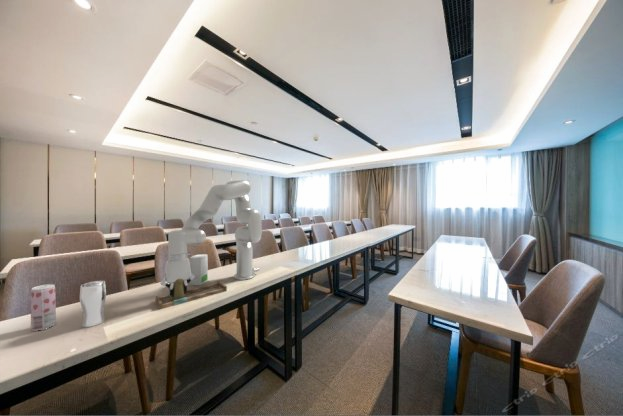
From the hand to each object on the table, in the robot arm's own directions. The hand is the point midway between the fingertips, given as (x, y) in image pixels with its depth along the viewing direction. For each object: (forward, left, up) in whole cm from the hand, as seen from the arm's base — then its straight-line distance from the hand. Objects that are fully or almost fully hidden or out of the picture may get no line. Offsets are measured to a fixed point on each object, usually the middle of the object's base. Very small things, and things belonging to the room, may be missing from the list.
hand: (178, 294), depth 102 cm
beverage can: (+41, -7, -3) cm, 42 cm away
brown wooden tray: (-6, 0, -2) cm, 7 cm away
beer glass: (+28, +1, -3) cm, 28 cm away
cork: (0, 0, -2) cm, 2 cm away
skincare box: (-14, -17, -3) cm, 22 cm away
